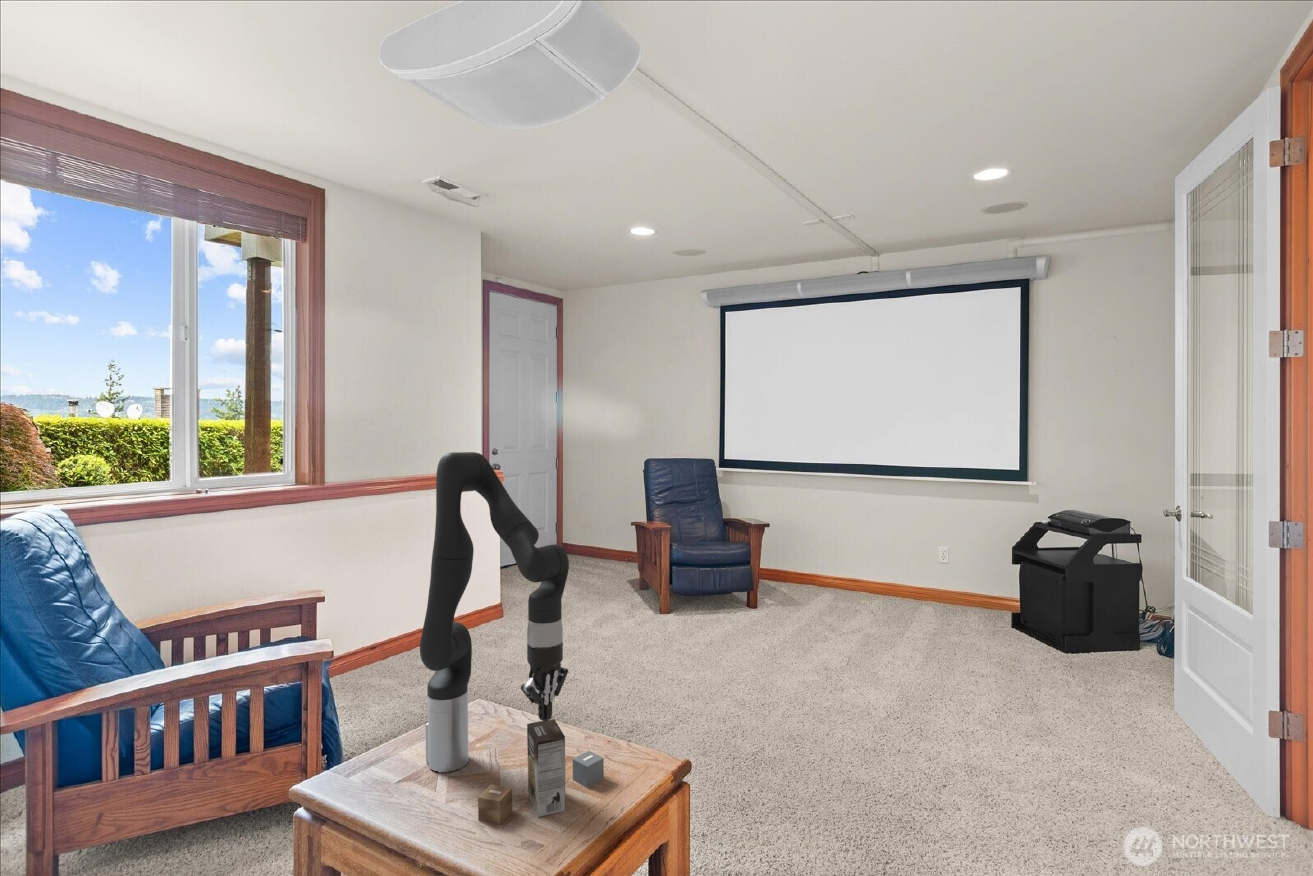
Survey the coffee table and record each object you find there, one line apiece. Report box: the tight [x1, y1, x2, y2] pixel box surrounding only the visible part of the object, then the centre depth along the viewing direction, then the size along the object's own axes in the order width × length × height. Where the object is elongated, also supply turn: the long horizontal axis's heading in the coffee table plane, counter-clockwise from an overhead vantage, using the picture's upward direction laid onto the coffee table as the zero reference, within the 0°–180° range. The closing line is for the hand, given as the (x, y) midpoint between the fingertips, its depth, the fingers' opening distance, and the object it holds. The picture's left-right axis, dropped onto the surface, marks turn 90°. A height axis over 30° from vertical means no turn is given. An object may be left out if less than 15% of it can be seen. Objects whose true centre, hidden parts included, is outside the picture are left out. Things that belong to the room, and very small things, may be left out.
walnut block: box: [477, 784, 513, 826], centre depth 137 cm, size 5×5×5 cm
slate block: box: [572, 750, 605, 789], centre depth 150 cm, size 5×5×5 cm
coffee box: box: [526, 718, 566, 818], centre depth 141 cm, size 9×6×16 cm
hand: (545, 719), depth 141 cm, fingers closed
